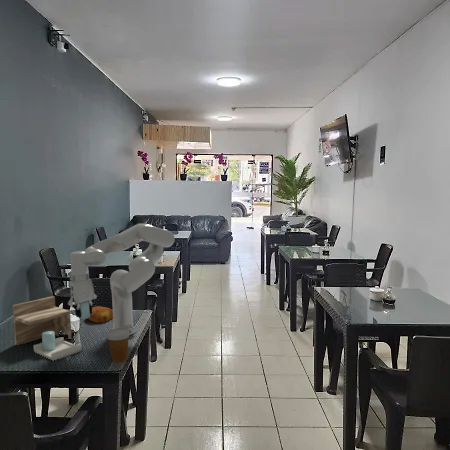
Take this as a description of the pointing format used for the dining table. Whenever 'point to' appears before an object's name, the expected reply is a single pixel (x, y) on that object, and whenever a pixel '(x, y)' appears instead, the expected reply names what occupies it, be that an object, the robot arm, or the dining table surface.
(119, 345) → the disposable coffee cup
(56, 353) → the tray
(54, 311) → the wooden stand
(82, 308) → the pale blue cylinder
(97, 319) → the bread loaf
